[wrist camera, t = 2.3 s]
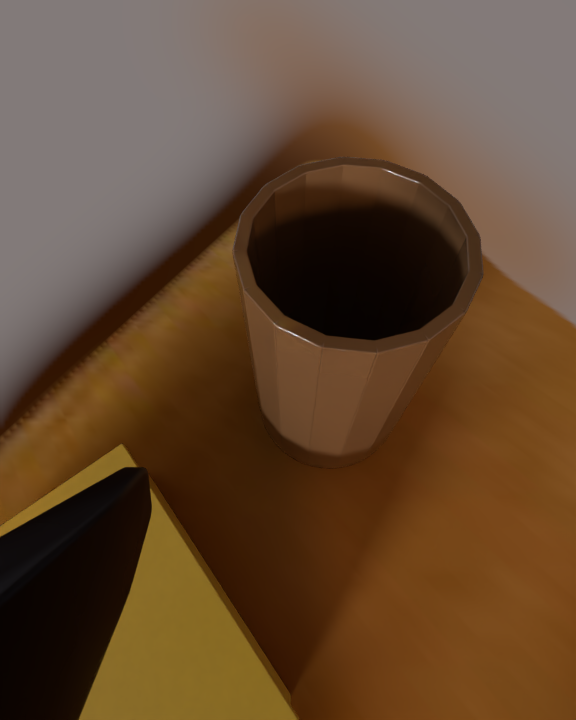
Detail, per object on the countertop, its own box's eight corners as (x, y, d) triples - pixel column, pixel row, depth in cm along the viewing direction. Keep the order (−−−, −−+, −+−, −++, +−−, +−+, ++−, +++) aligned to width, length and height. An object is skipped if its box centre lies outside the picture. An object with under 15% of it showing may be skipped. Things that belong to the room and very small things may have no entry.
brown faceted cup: (422, 412, 23) (535, 259, 13) (318, 498, 21) (345, 404, 11) (334, 321, 26) (365, 127, 15) (233, 391, 24) (186, 227, 13)
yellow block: (298, 696, 18) (300, 722, 14) (51, 932, 15) (-23, 1038, 12) (149, 466, 22) (122, 442, 19) (-68, 619, 19) (-149, 626, 16)
